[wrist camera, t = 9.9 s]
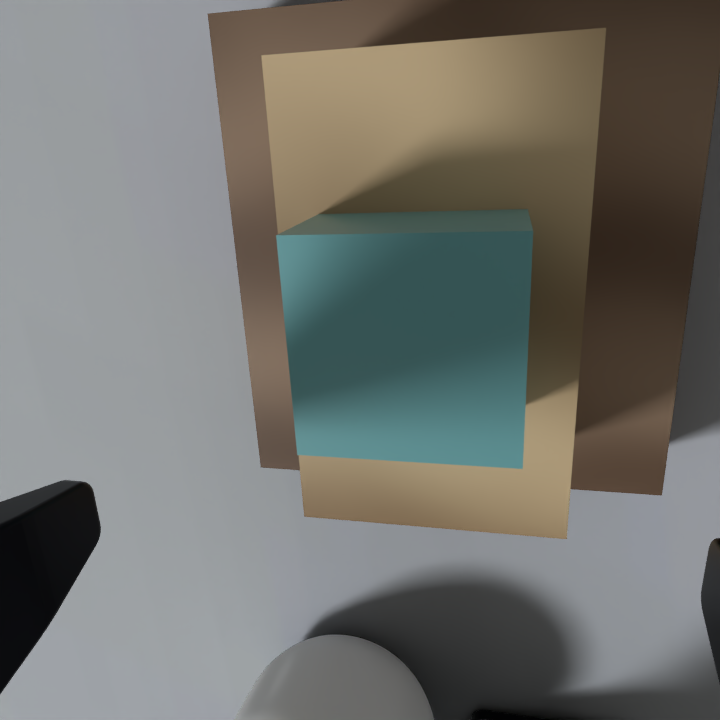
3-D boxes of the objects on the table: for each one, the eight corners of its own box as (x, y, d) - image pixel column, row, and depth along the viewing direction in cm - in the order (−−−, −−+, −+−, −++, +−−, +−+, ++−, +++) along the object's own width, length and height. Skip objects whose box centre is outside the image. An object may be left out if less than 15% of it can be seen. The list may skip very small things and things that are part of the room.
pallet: (552, 442, 18) (566, 538, 14) (347, 431, 19) (304, 516, 15) (577, 54, 14) (605, 27, 10) (325, 72, 16) (261, 55, 12)
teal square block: (519, 407, 13) (522, 468, 11) (331, 399, 14) (297, 454, 12) (527, 209, 12) (533, 231, 9) (318, 214, 12) (276, 235, 10)
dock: (643, 452, 20) (661, 495, 18) (285, 432, 23) (260, 467, 20) (700, -15, 16) (735, -38, 13) (245, 27, 18) (207, 13, 16)
